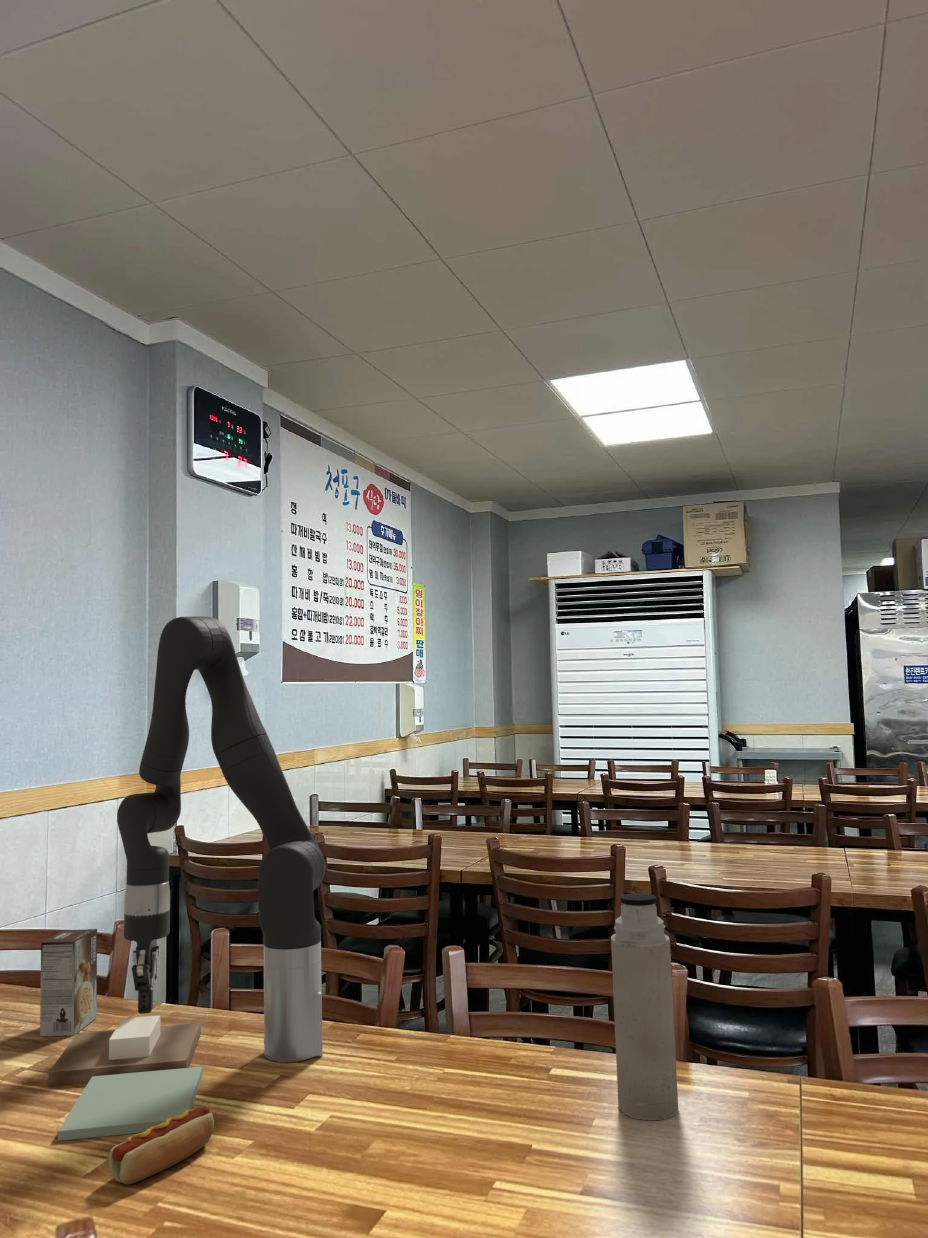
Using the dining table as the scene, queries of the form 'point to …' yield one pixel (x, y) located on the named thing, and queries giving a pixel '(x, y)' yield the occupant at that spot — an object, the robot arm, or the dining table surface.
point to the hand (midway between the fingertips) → (145, 1012)
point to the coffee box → (68, 982)
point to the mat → (130, 1102)
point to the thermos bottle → (643, 1011)
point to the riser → (93, 1059)
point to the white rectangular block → (134, 1037)
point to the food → (161, 1146)
